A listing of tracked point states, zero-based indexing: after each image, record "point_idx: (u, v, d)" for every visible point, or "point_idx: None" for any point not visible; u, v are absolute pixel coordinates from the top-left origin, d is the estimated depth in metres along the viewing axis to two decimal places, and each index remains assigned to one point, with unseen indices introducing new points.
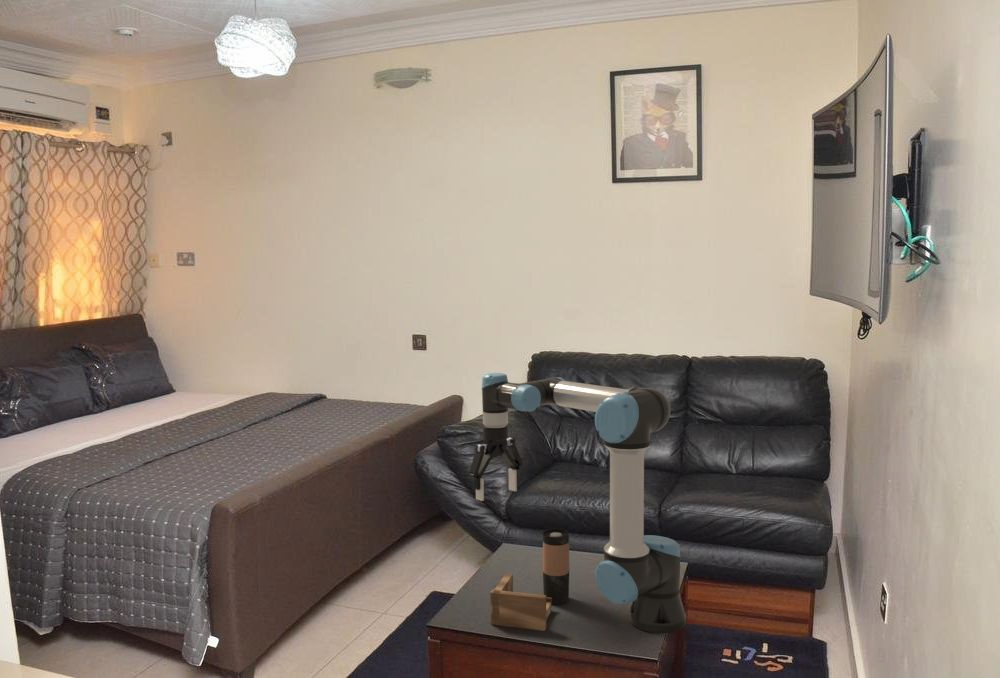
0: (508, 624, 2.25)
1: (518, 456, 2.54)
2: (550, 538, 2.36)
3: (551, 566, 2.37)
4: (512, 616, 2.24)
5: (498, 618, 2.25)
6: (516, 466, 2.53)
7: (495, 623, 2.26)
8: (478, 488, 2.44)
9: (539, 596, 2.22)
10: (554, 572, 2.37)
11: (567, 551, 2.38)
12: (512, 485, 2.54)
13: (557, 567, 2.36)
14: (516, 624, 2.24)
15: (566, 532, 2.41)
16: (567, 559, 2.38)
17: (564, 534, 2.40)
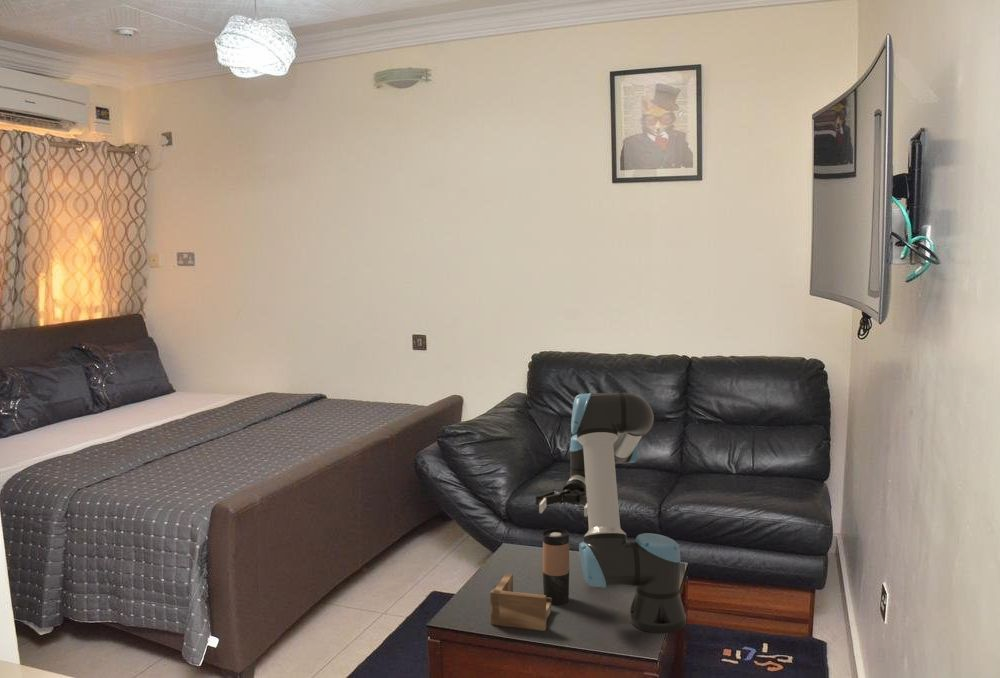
0: (508, 624, 2.25)
1: None
2: (550, 538, 2.36)
3: (551, 566, 2.37)
4: (512, 616, 2.24)
5: (498, 618, 2.25)
6: None
7: (495, 623, 2.26)
8: (539, 502, 2.54)
9: (539, 596, 2.22)
10: (554, 572, 2.37)
11: (567, 551, 2.38)
12: None
13: (556, 567, 2.36)
14: (516, 624, 2.24)
15: (566, 532, 2.41)
16: (567, 559, 2.38)
17: (564, 534, 2.40)
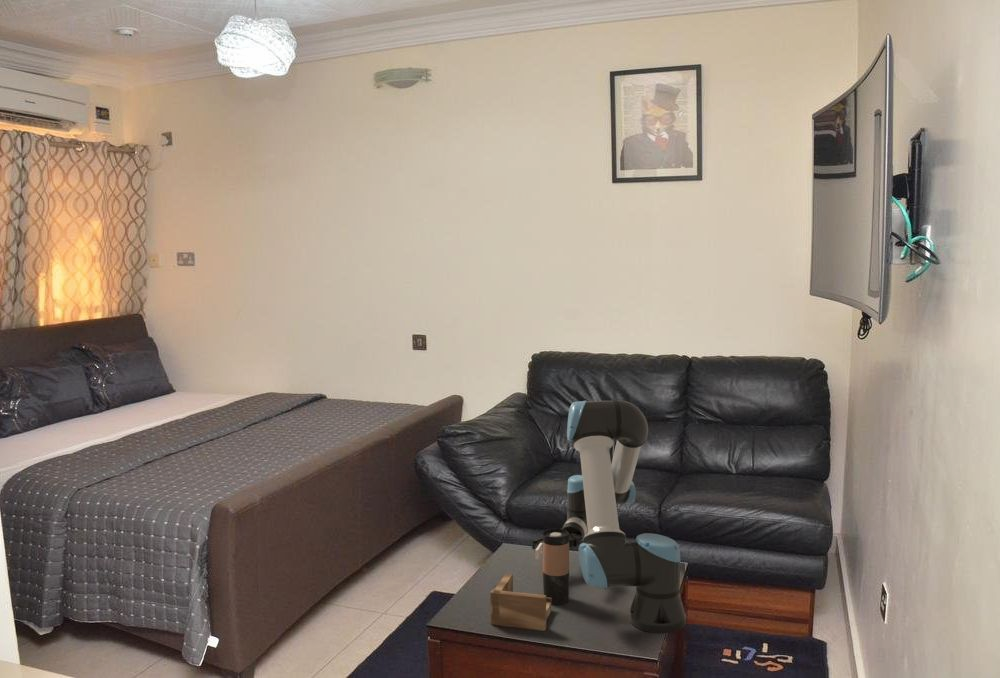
0: (508, 624, 2.25)
1: None
2: (550, 538, 2.36)
3: (551, 566, 2.37)
4: (512, 616, 2.24)
5: (498, 618, 2.25)
6: None
7: (495, 623, 2.26)
8: (535, 547, 2.51)
9: (539, 596, 2.22)
10: (554, 572, 2.37)
11: (567, 551, 2.38)
12: None
13: (556, 567, 2.36)
14: (516, 624, 2.24)
15: (566, 532, 2.41)
16: (567, 559, 2.38)
17: (564, 534, 2.40)
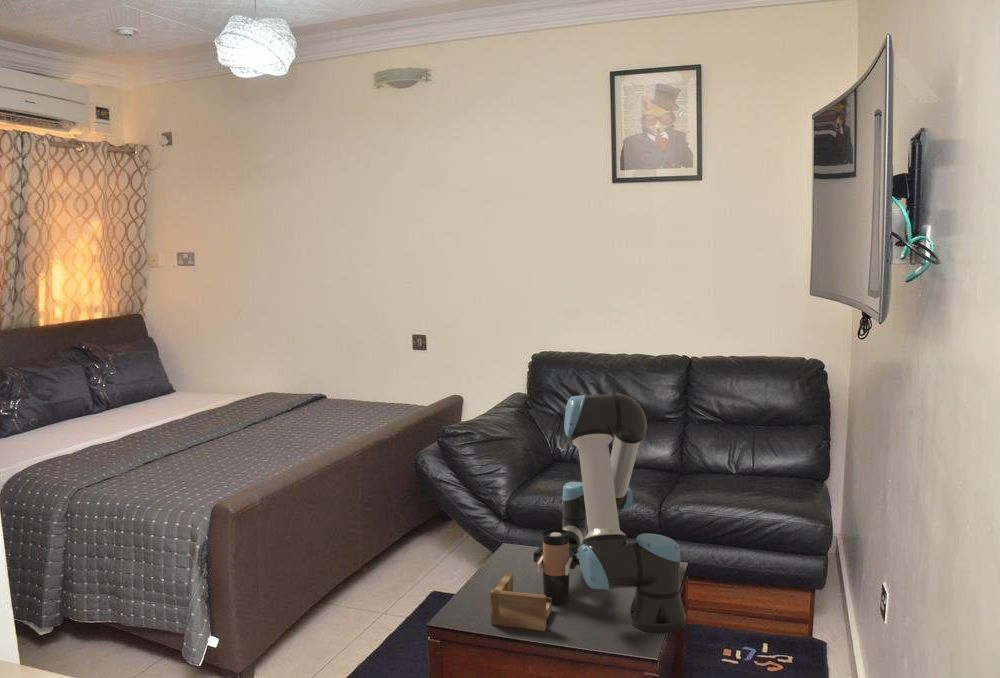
0: (508, 624, 2.25)
1: None
2: (550, 538, 2.36)
3: (551, 566, 2.37)
4: (512, 616, 2.24)
5: (498, 618, 2.25)
6: None
7: (495, 623, 2.26)
8: (537, 560, 2.41)
9: (539, 596, 2.22)
10: (554, 572, 2.37)
11: (567, 551, 2.38)
12: None
13: (556, 567, 2.36)
14: (516, 624, 2.24)
15: (566, 532, 2.41)
16: (567, 559, 2.38)
17: (564, 534, 2.40)
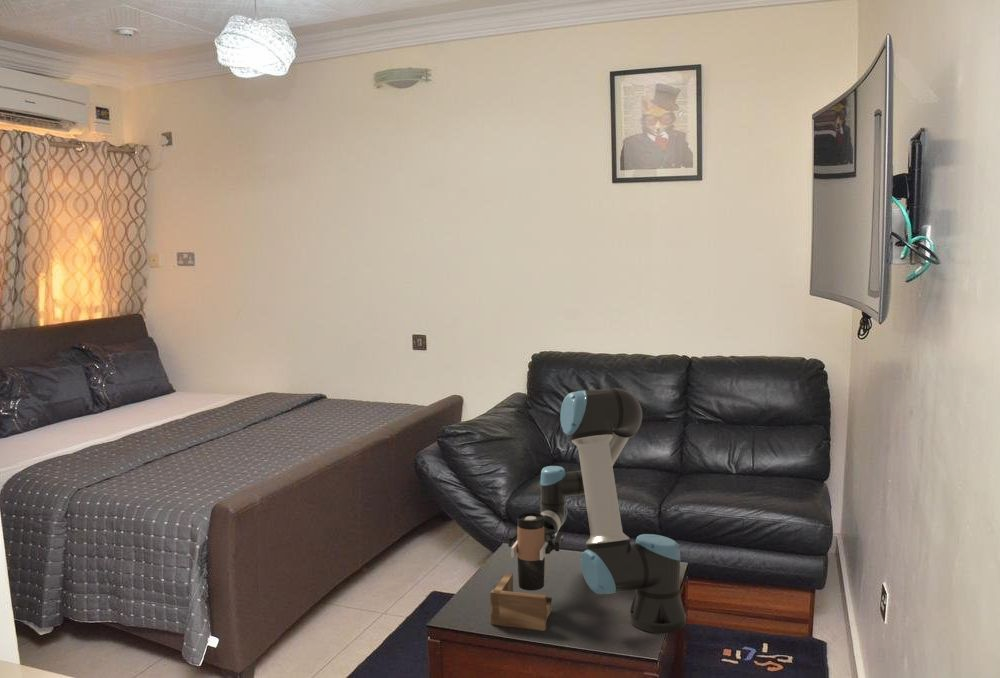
0: (508, 624, 2.25)
1: (558, 538, 2.37)
2: (524, 522, 2.29)
3: (525, 551, 2.30)
4: (512, 616, 2.24)
5: (498, 618, 2.25)
6: None
7: (495, 623, 2.26)
8: (512, 545, 2.34)
9: (539, 596, 2.22)
10: (528, 557, 2.30)
11: (542, 536, 2.31)
12: None
13: (531, 552, 2.30)
14: (516, 624, 2.24)
15: (541, 516, 2.34)
16: (542, 544, 2.31)
17: (539, 518, 2.34)
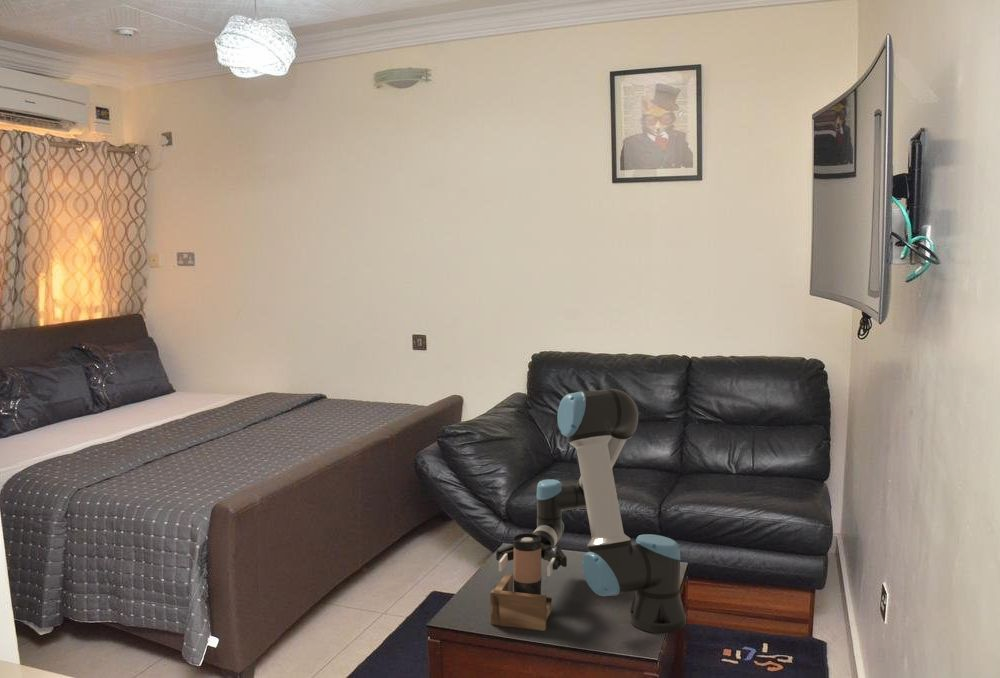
0: (508, 624, 2.25)
1: (562, 553, 2.33)
2: (521, 543, 2.25)
3: (522, 573, 2.26)
4: (512, 616, 2.24)
5: (498, 618, 2.25)
6: None
7: (495, 623, 2.26)
8: (499, 558, 2.31)
9: (539, 596, 2.22)
10: (525, 579, 2.25)
11: (539, 558, 2.27)
12: None
13: (527, 574, 2.25)
14: (516, 624, 2.24)
15: (538, 537, 2.29)
16: (539, 565, 2.27)
17: (536, 539, 2.29)
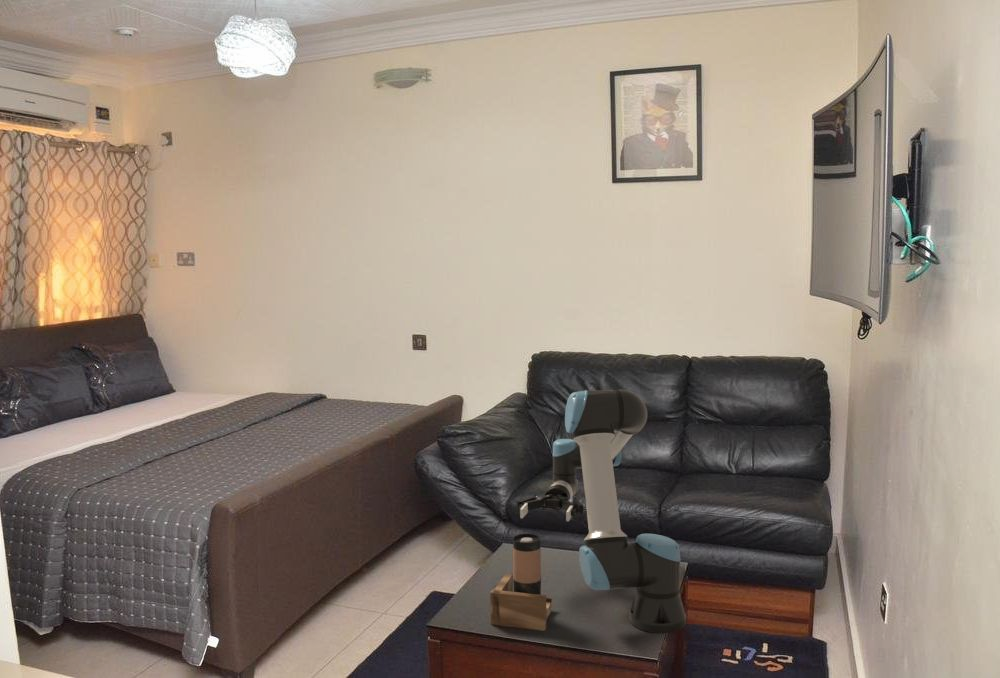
0: (508, 624, 2.25)
1: (578, 503, 2.49)
2: (520, 544, 2.25)
3: (521, 573, 2.25)
4: (512, 616, 2.24)
5: (498, 618, 2.25)
6: None
7: (495, 623, 2.26)
8: (520, 507, 2.46)
9: (539, 596, 2.22)
10: (524, 580, 2.25)
11: (538, 558, 2.27)
12: None
13: (527, 574, 2.25)
14: (516, 624, 2.24)
15: (538, 537, 2.29)
16: (538, 566, 2.27)
17: (535, 539, 2.29)
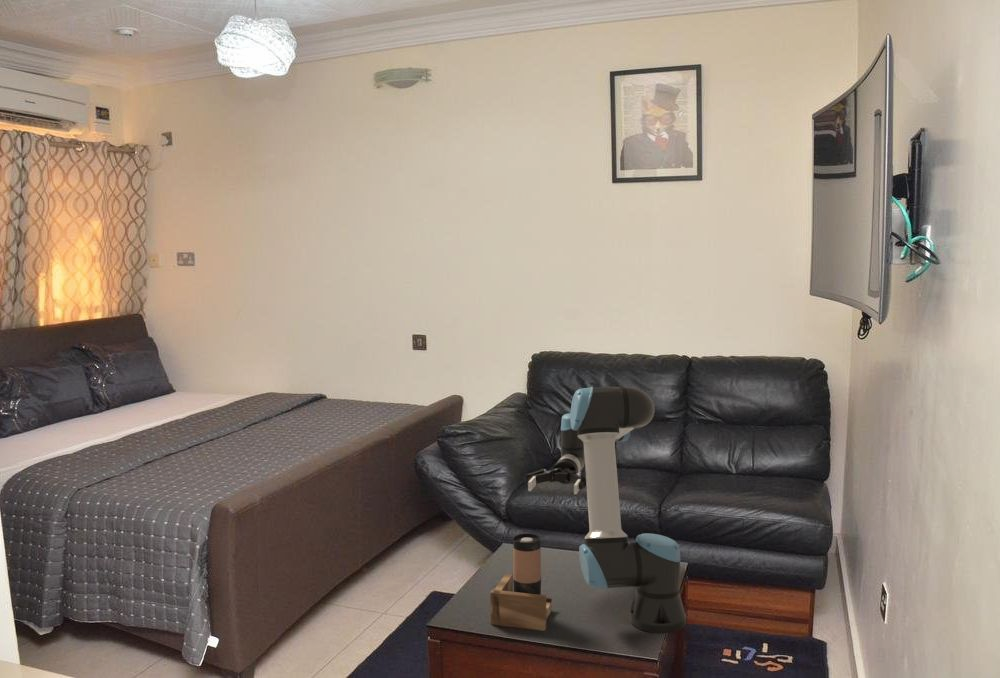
0: (508, 624, 2.25)
1: None
2: (520, 543, 2.25)
3: (521, 573, 2.26)
4: (512, 616, 2.24)
5: (498, 618, 2.25)
6: None
7: (495, 623, 2.26)
8: (528, 480, 2.48)
9: (539, 596, 2.22)
10: (525, 579, 2.25)
11: (539, 558, 2.27)
12: None
13: (527, 574, 2.25)
14: (516, 624, 2.24)
15: (538, 537, 2.29)
16: (538, 565, 2.27)
17: (536, 539, 2.29)
